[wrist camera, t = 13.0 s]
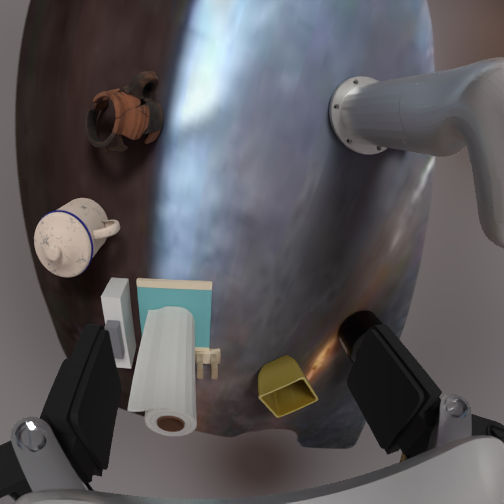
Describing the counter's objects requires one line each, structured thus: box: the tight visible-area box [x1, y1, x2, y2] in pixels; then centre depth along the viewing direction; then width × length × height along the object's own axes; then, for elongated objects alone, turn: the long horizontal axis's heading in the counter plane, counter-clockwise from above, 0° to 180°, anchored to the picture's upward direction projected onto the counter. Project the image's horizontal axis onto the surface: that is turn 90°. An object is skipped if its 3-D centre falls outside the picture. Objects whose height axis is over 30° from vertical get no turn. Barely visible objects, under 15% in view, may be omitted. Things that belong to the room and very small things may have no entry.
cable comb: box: [195, 349, 221, 379], centre depth 49 cm, size 10×2×6 cm, turn 84°
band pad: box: [137, 278, 212, 351], centre depth 48 cm, size 12×14×1 cm
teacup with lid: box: [34, 198, 120, 277], centre depth 35 cm, size 12×9×12 cm
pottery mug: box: [85, 71, 163, 153], centre depth 33 cm, size 12×10×8 cm
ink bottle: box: [338, 311, 383, 362], centre depth 50 cm, size 10×9×12 cm
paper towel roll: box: [127, 306, 197, 437], centre depth 38 cm, size 7×6×21 cm
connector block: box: [101, 278, 136, 369], centre depth 43 cm, size 3×14×8 cm, turn 174°
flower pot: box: [258, 355, 318, 418], centre depth 52 cm, size 9×9×9 cm
